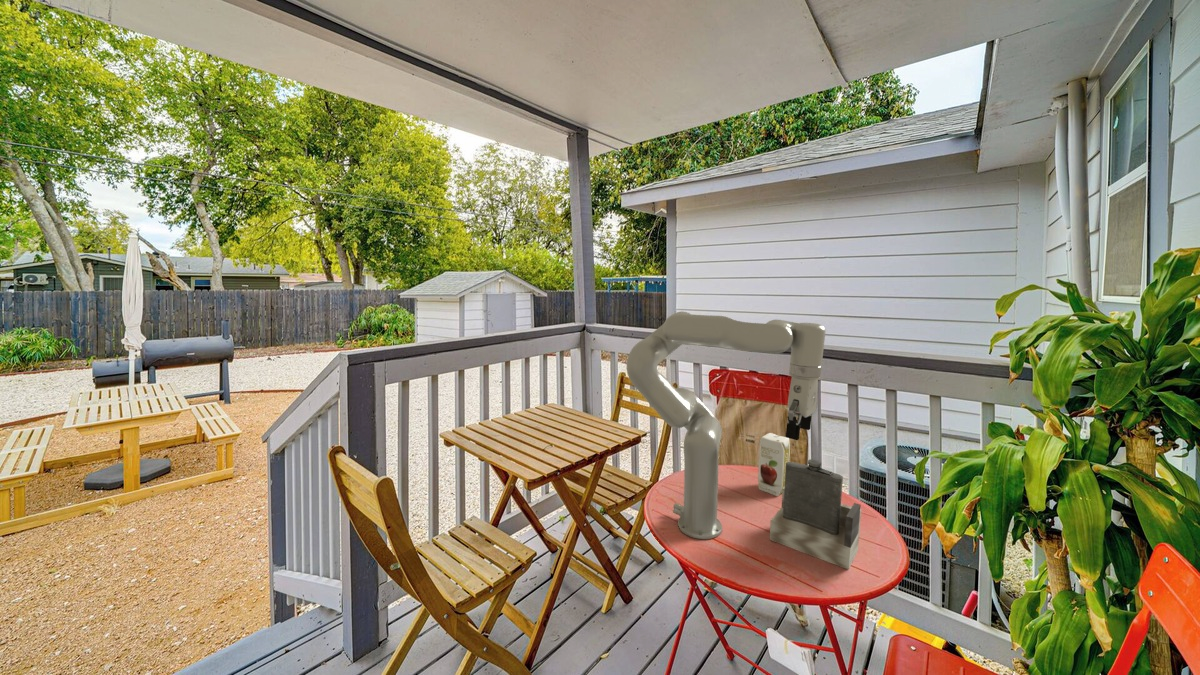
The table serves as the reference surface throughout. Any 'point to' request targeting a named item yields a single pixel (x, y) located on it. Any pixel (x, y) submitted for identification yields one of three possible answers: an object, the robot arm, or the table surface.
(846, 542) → the stone display stand
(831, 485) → the flask
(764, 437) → the juice carton
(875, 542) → the table surface
